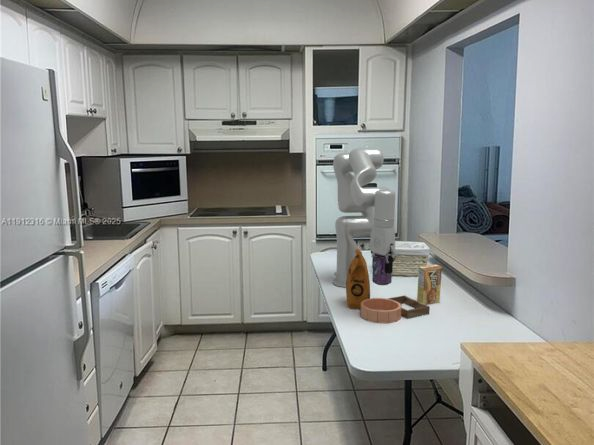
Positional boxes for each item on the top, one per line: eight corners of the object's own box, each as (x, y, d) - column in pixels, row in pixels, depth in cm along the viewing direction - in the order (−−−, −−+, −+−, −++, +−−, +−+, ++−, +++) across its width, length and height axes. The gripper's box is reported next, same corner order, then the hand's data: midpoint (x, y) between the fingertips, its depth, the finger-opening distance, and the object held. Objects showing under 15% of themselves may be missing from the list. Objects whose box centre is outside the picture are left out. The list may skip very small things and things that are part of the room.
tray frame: (382, 306, 200) (382, 299, 199) (404, 302, 205) (404, 295, 204) (406, 318, 187) (407, 311, 186) (429, 314, 192) (429, 306, 191)
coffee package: (343, 308, 197) (345, 254, 193) (346, 298, 209) (347, 247, 205) (369, 310, 195) (371, 256, 191) (370, 300, 207) (372, 248, 203)
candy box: (433, 299, 209) (435, 264, 206) (440, 302, 205) (442, 266, 202) (416, 302, 205) (418, 266, 202) (423, 305, 201) (425, 268, 198)
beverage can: (370, 281, 190) (371, 250, 188) (388, 280, 191) (389, 250, 189) (374, 286, 183) (375, 254, 181) (393, 286, 184) (394, 254, 182)
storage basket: (422, 269, 256) (424, 241, 253) (429, 278, 240) (430, 248, 237) (376, 268, 257) (377, 240, 255) (379, 277, 241) (380, 247, 239)
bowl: (352, 312, 193) (353, 301, 192) (384, 306, 199) (384, 295, 199) (376, 325, 180) (376, 313, 179) (408, 319, 186) (409, 307, 186)
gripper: (361, 220, 189) (360, 266, 192) (390, 228, 174) (388, 277, 177) (377, 219, 192) (376, 263, 196) (407, 226, 177) (405, 274, 180)
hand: (382, 269), depth 186 cm, fingers closed on beverage can, 6 cm apart
